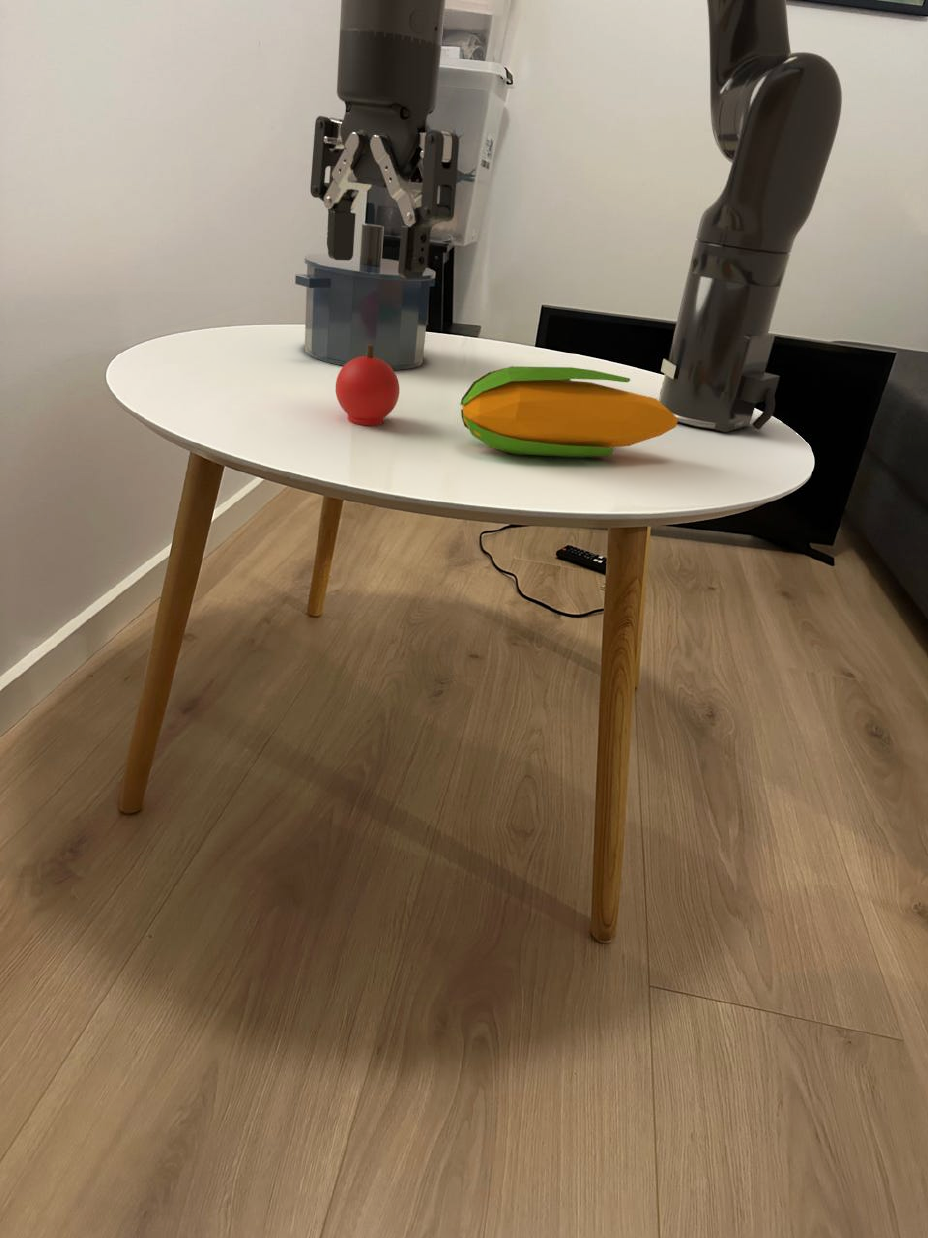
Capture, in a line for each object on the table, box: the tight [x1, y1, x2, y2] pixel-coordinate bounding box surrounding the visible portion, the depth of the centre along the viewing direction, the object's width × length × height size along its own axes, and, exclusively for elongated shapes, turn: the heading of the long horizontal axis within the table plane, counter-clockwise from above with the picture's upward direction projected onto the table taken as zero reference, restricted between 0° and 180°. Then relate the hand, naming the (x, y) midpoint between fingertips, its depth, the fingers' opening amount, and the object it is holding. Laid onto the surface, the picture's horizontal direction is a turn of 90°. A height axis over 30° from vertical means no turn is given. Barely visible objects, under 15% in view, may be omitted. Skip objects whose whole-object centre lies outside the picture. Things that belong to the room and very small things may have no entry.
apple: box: [335, 344, 400, 426], centre depth 75 cm, size 6×6×7 cm
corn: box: [459, 365, 679, 458], centre depth 73 cm, size 7×8×20 cm
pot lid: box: [303, 223, 436, 281], centre depth 95 cm, size 15×15×5 cm
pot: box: [294, 264, 436, 371], centre depth 98 cm, size 14×19×10 cm
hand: (373, 268), depth 71 cm, fingers open, 8 cm apart
